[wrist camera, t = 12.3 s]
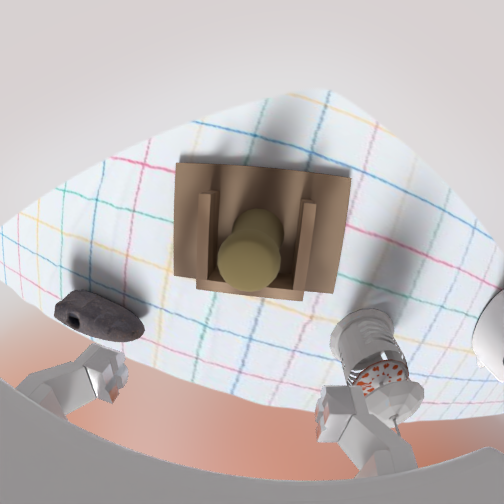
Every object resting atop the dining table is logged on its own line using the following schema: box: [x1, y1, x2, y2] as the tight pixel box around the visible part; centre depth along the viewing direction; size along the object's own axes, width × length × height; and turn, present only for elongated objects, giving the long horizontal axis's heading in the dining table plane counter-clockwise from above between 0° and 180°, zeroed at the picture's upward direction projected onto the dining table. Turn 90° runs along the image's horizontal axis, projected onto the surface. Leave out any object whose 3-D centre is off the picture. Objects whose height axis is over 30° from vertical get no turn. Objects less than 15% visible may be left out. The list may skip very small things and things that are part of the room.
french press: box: [330, 309, 424, 437], centre depth 24 cm, size 10×12×25 cm
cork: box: [218, 208, 284, 292], centre depth 27 cm, size 6×6×11 cm
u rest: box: [174, 163, 351, 301], centre depth 30 cm, size 20×14×6 cm
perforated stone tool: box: [54, 290, 145, 342], centre depth 35 cm, size 15×5×7 cm, turn 75°
